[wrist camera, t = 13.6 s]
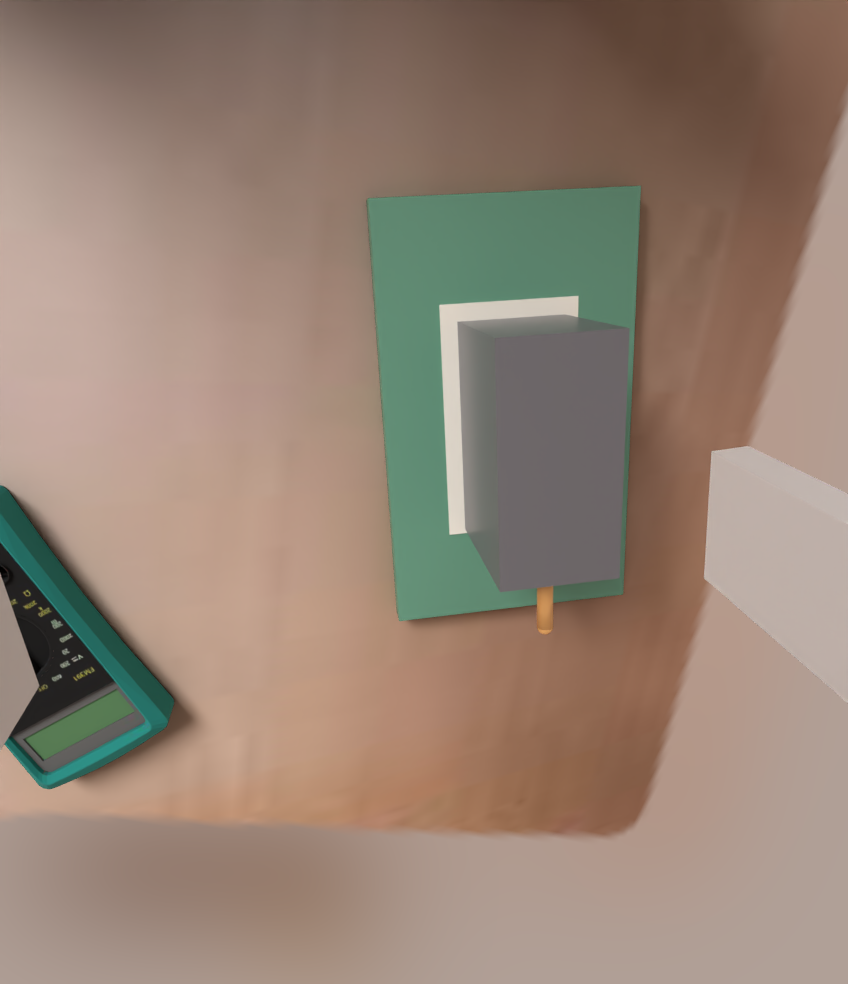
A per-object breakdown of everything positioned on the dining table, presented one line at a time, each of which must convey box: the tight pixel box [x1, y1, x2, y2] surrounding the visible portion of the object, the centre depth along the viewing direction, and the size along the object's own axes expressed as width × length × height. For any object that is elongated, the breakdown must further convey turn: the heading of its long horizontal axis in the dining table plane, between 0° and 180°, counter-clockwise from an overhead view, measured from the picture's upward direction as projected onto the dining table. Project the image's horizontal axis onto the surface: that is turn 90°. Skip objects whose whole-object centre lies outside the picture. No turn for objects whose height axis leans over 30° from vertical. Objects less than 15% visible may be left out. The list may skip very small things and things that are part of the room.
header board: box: [367, 186, 641, 621], centre depth 32 cm, size 20×12×5 cm, turn 3°
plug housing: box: [457, 314, 630, 634], centre depth 30 cm, size 13×5×7 cm, turn 3°
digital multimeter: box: [0, 486, 174, 789], centre depth 33 cm, size 7×15×3 cm, turn 27°
